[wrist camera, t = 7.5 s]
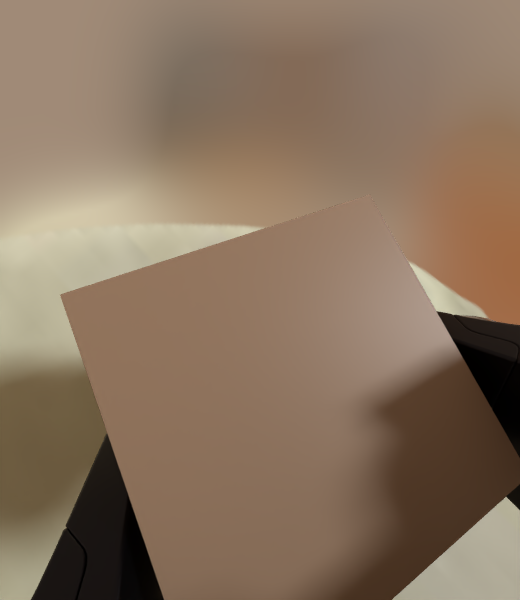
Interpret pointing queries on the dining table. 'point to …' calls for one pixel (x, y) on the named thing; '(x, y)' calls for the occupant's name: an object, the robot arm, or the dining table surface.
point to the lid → (290, 413)
